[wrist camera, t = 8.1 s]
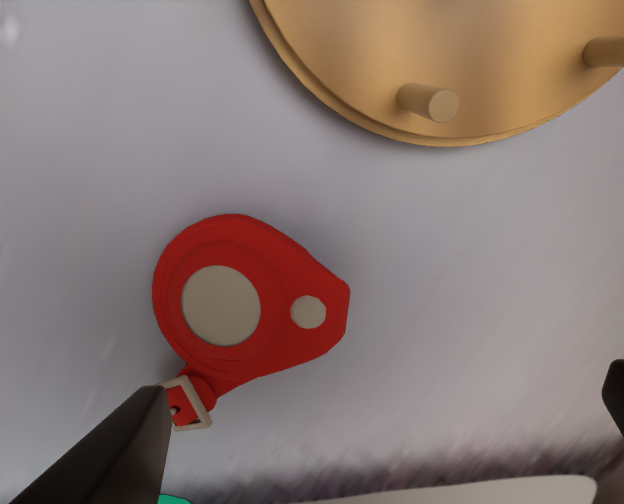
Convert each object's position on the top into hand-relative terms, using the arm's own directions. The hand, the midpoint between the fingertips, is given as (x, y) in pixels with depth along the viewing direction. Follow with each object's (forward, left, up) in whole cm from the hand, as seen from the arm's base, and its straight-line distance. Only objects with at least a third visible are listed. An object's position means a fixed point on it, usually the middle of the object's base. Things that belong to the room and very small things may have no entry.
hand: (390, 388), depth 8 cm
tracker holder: (+2, -8, -13) cm, 16 cm away
